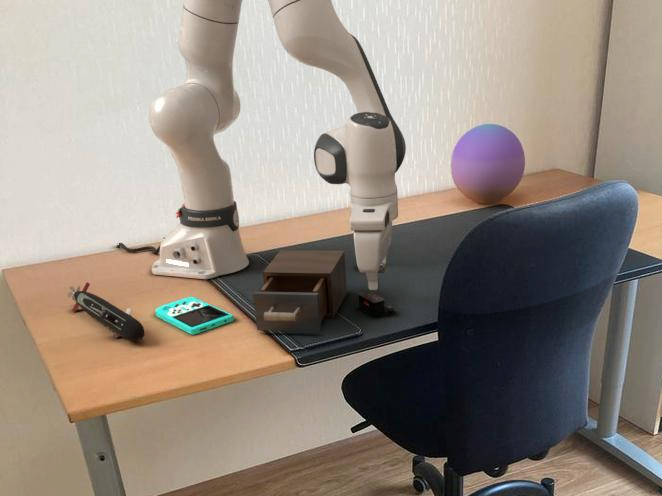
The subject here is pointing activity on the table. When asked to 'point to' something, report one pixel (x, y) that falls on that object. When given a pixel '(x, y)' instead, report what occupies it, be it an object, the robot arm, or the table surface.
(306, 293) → the drawer
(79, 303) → the submarine model
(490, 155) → the ball
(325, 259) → the cabinet
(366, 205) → the robot arm
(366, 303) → the wireless earbuds
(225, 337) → the table surface
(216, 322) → the handheld game console
